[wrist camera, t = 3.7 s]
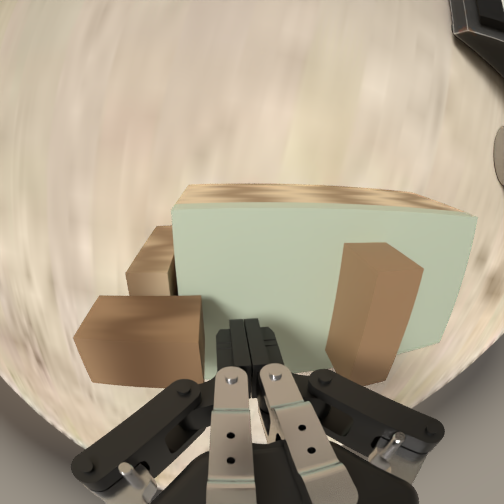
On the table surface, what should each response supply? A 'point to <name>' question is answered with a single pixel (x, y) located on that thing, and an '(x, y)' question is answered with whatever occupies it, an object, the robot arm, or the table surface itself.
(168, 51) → the table surface
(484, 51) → the voltmeter
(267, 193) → the toolbox
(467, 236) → the lid
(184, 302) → the wooden block
